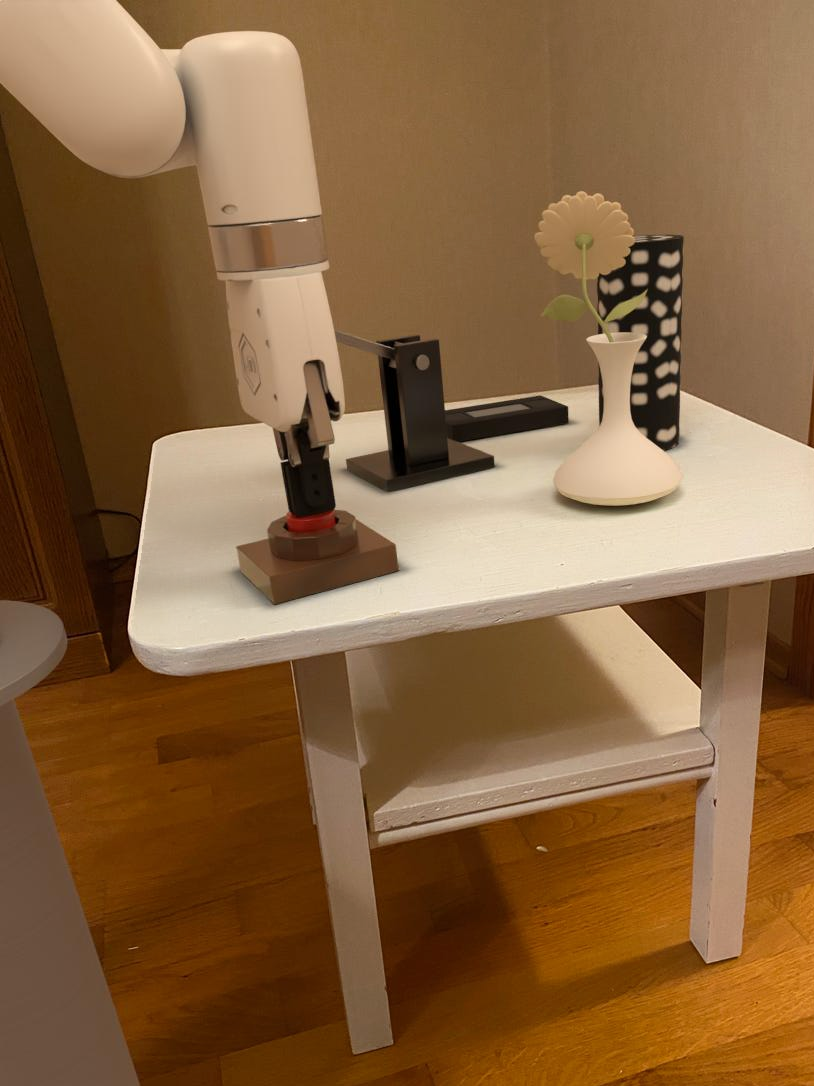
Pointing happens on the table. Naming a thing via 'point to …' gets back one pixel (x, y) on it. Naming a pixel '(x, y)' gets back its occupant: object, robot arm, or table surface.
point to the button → (310, 522)
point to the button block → (315, 558)
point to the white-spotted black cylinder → (649, 332)
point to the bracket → (415, 423)
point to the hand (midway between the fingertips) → (312, 511)
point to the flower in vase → (603, 358)
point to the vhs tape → (504, 417)
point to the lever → (367, 346)
